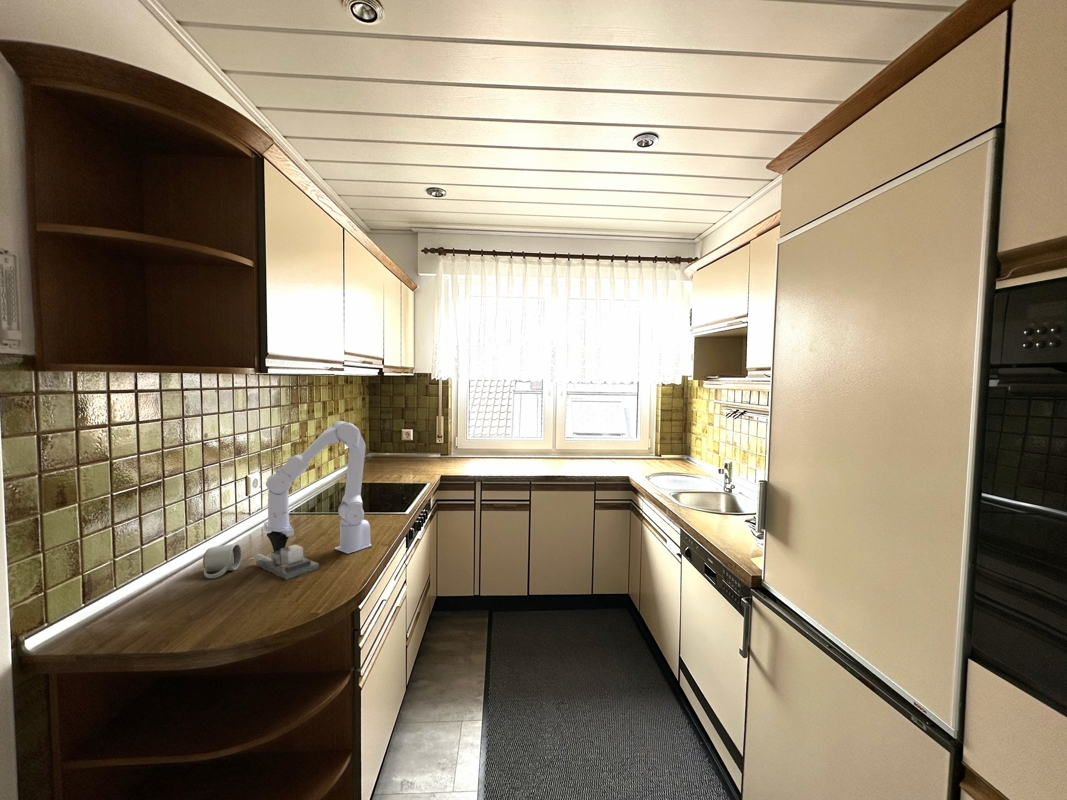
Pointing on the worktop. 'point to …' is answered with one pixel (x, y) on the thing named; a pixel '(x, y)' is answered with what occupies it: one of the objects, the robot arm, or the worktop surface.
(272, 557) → the block
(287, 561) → the white rectangular block
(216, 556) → the ceramic mug
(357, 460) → the robot arm
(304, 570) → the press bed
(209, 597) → the worktop surface
